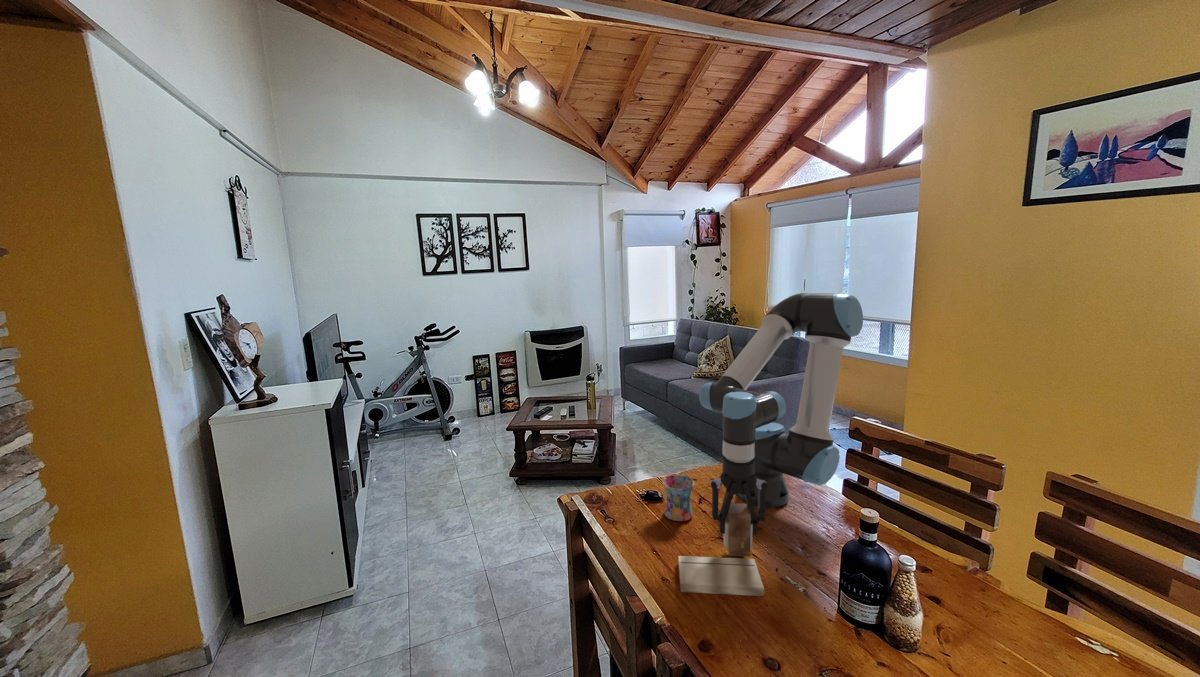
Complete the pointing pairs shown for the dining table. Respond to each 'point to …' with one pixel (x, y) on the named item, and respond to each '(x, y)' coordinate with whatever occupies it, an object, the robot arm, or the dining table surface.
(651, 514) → the dining table surface
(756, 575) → the board
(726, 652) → the dining table surface
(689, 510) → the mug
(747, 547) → the brown box
